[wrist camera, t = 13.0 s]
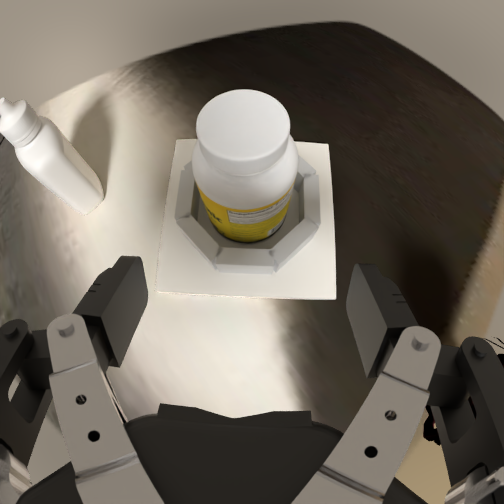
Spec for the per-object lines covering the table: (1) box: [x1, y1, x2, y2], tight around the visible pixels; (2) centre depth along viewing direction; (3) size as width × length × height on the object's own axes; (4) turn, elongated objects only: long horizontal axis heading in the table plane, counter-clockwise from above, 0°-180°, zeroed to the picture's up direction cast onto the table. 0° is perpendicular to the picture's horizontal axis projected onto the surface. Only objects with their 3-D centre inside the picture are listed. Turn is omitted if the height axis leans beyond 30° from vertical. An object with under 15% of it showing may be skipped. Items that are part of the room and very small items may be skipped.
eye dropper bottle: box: [0, 97, 104, 215], centre depth 17 cm, size 4×6×12 cm
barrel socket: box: [155, 139, 336, 300], centre depth 21 cm, size 12×12×3 cm
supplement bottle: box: [192, 89, 299, 245], centre depth 17 cm, size 5×5×10 cm
